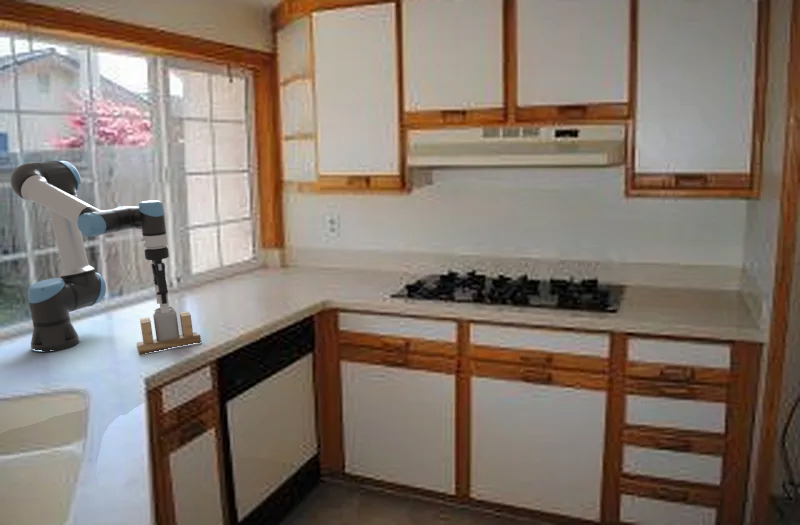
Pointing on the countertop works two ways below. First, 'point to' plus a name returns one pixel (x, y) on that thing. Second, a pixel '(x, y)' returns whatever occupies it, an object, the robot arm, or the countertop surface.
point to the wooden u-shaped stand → (153, 345)
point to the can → (166, 325)
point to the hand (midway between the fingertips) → (163, 307)
